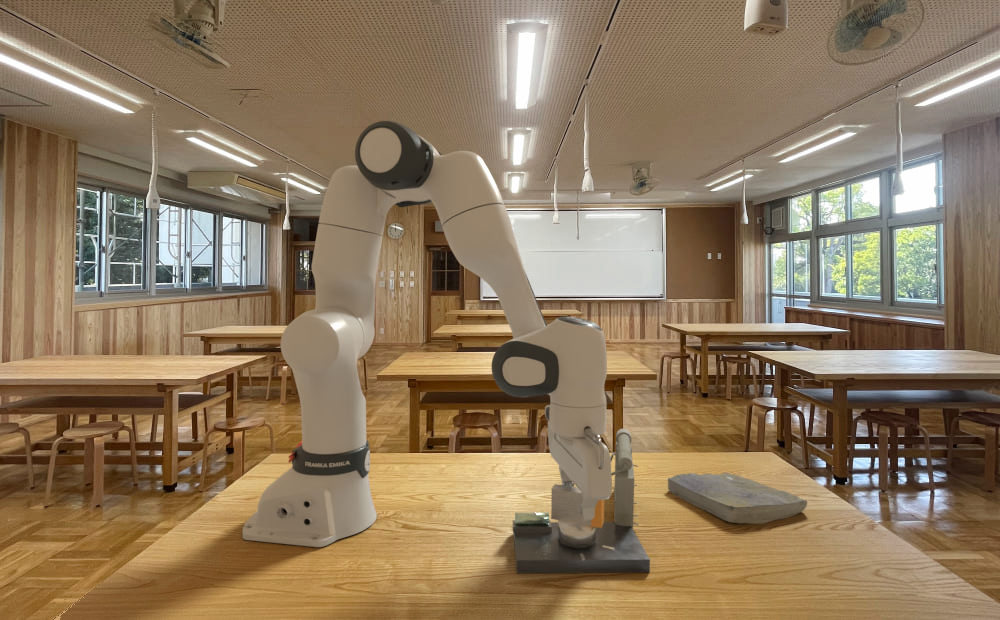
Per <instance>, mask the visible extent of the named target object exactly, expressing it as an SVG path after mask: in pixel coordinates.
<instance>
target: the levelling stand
mask: <svg viewBox="0 0 1000 620" xmlns="http://www.w3.org/2000/svg"><path fill="white" fill-rule="evenodd" d="M512 533H513V545H514V546H513V547H514V556H515V568H516V569H515V570H516V571H515V572H516V574H577V573H578V574H594V573H595V574H597V573H598V574H599V573H601V574H604V573H606V574H608V573H613V574H614V573H616V574H617V573H618V574H619V573H621V574H622V573H629V574H630V573H631V574H632V573H651V571H650V569H651V568H650V565H651V558H650V557H649V555H648V553H647V552H646V550H645V548H644V546H643V545H642V543H641V542H640V539H639V537H638V536H637V533H635V530H634V528H633V529H632V527H631V526H621V525H616V524H615V521H604V523H603V525H602V528H598V527H596V542H595V543H594V544H593V545H592V546H590V547H586V548H573V547H569V546H566V545H564V544H562V543H561V542H560V541H559V539H558V521H556V522H555V521H554V522H553V521H551V520H550V513H549V512H536V511H532V512H515V513H514V520H512Z"/></svg>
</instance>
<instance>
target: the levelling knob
mask: <svg viewBox="0 0 1000 620" xmlns="http://www.w3.org/2000/svg"><path fill="white" fill-rule="evenodd" d="M550 497H551V499H550V500H551V501H550V502H551V506H550V507H551V508H550V511H551V516H550V519H551V520H556V521H557V522H558V539H559V541H560V542H561V543H562V544H564V545H566V546H569V547H573V548H586V547H590V546H592V545H593V544H594V543H595V542H596V527H598V528H602V525H603V523H604V522H605V500H598V502H597V504H596V507H595V516H594V518H593V519H588V520H585V519H584V518H583V517H582V515H581V514H580V511H581V510H580V504H582V503H583V497H582V492H581V491H580V490H579V489H578V488H577V486H574V487H571V486H564V485H562V484H558V483H554V484H553V486H552V487H551V496H550Z"/></svg>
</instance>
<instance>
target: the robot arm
mask: <svg viewBox="0 0 1000 620" xmlns="http://www.w3.org/2000/svg"><path fill="white" fill-rule="evenodd" d="M354 149H355V150H354V158H355V161H356V162H355V163H356V165H355V164H354V165H353V164H352V165H345V166H342V167H339V168H337V169H336V170H335V171H334V172H333V173H332V176H331V179H330V180H329V183H328V186H327V189H326V191H325V194H324V198H323V202H322V206H321V209H320V213H319V218H318V219H319V220H318V224H317V225H318V226H317V231H316V237H315V242H314V250H313V255H312V261H311V272H312V275H313V278H314V284H315V285H314V287H315V308H314V309H310V310H307V311H305V312H303V313H301V314H300V315H298V316H297V317H296V318H294V319H293V320H292V321H291V322H290V323H289V324H288V325H287V326H286V327H285V328H284V331H283V333H282V334H281V338H280V351H281V355H282V357H283V359H284V360H285V363H286V364H287V365H288V366H289V367H290V368H291V371H292V373H293V378H294V381H295V386H296V388H297V392H298V397H299V403H300V413H301V414H300V415H301V441H300V442H298V443H297V444H296V446H295V447H296V448H294V449H293V450H292V451H291V453H290V454H289V455H288V456H287V459H288V463H289V464H290V463H291V465H292V466H291V467H290V468H289V469H288V470H286V471H285V472H284V473H282V474H281V475H280V476H279V477H277V478H276V479H275V480H274V481H273V482H272V483H270V484H269V485H267V487H266V488H265V490H264V491H263V492H262V494H261V495H260V498H259V501H258V504H257V507H256V508H257V509H256V511H255V512H254V513H253V514H252V515H251V516H249V517H248V519H247V520H246V521H245V523H244V525H243V527H242V532H241V533H242V534H241V535H242V539H243V540H246V541H253V542H254V541H255V542H264V543H274V544H281V545H282V544H283V545H284V544H285V545H294V546H302V547H303V546H304V547H311V548H312V547H314V548H322V547H325V546H329V545H330V544H332V543H334V542H336V541H338V540H339V539H343V538H346V537H350V536H353V535H356V534H359V533H360V532H362V531H364V530H366V529H368V528H369V527H370V526H371V525H373V524H374V523H375V521H376V520H377V517H378V516H377V511H376V508H375V505H374V501H373V498H372V497H373V496H372V491H371V485H370V479H369V473H370V468H371V451H370V442H369V440H368V439H367V400H366V396H365V395H364V393H363V391H362V387H361V382H360V378H359V372H358V360H359V359H361V358H362V357H363V356H365V355H366V354H367V353H368V352H369V350H370V348H371V347H372V344H373V341H374V339H375V334H376V333H375V332H376V329H375V316H376V315H375V314H376V312H375V311H376V280H377V273H378V269H379V268H378V267H379V262H380V254H381V250H382V243H383V238H384V231H385V227H386V226H385V225H386V219H387V216H388V213H389V211H390V209H391V208H392V207H393V206H394V205H396V207H399V208H404V207H405V208H406V207H411V206H420V205H426V204H431V203H432V204H433V206H434V208H435V210H436V212H437V215H438V219H439V221H440V224H441V227H442V231H443V233H444V237H445V239H446V241H447V244H448V246H449V248H450V250H451V251H452V254H453V255H454V257H455V258H456V260H457V261H458V263H459V264H460V265H461V266H463V268H465V269H466V270H468V271H469V272H471V273H473V274H475V275H476V276H477V277H479V278H480V279H482V280H483V281H484V282H486V283H487V285H489V286H490V288H491V289H492V290H493V292H494V293H495V295H496V296H497V299H498V302H499V305H501V308H502V311H503V313H504V316H505V319H506V320H507V323H508V326H509V328H510V330H511V333H512V339H510V340H507V341H506V342H504V343H503V344H501V345H500V346H499V347H498V348H497V349H496V351H495V352H494V354H493V356H492V360H491V374H492V378H493V380H494V382H495V384H496V385H497V387H498V388H499V389H500V390H501V391H502V392H504V393H505V394H507V395H509V396H511V397H517V398H529V397H537V396H543V395H549V398H550V401H549V402H550V404H548V405H546V406H545V407H544V416H545V419H546V421H547V434H548V436H547V437H548V439H547V441H548V450H549V453H550V456H551V459H553V460H554V462H556V463H557V465H558V470H559V475H560V479H561V485H564V486H571V487H577V488H578V489H579V490H580V491H581V492H582V497H583V503H582V504H580V510H581V511H580V514H581V515H582V517H583V518H584V519H585V520H588V519H593V518H594V516H595V507H596V504H597V502H598V500H604V501H605V500H609V499H610V497H611V495H612V493H613V485H612V484H613V482H612V481H613V479H612V476H613V475H612V474H611V473H612V461H611V459H610V458H611V454H610V451H609V448H608V446H607V445H606V443H604V442H602V435H604V434H605V433H606V432H607V397H606V393H605V384H606V379H607V375H608V358H607V357H608V356H607V354H608V353H607V343H606V336H605V332H604V329H602V328H601V326H600V325H599V324H597V323H596V322H594V321H592V320H589V319H586V318H582V317H575V316H560V317H556V318H555V319H554V320H553V321H552V322H550V323H547V321H546V320H545V318H544V314H543V312H542V310H541V307H540V305H539V303H538V302H539V301H538V300H537V296H536V295H535V293H534V290H533V288H532V285H531V282H530V280H529V277H528V275H527V273H526V271H525V268H524V265H523V262H522V258H521V254H520V252H519V249H518V245H517V242H516V241H517V240H516V238H515V234H514V230H513V227H512V223H511V221H510V216H509V214H508V210H507V208H506V205H505V203H504V200H503V196H502V194H501V191H500V189H499V187H498V185H497V183H496V181H495V179H494V176H493V175H492V174H491V173H492V172H490V170H489V167H488V166H487V164H486V162H485V161H484V159H483V158H482V157H481V156H480V155H479V154H478V153H475V152H473V151H469V150H455V151H452V152H450V153H447V154H442V153H441V152H440V151H439V150H437V149H436V148H435V147H434V145H433V144H431V142H430V141H429V140H428V139H426V137H423V136H421V135H419V134H417V133H416V131H414V130H412V129H411V128H410V127H409V126H406V125H404V124H402V123H399V122H396V121H391V120H380V121H377V122H374V123H371V124H370V125H368V126H367V127H366V128H364V130H362V132H361V134H360V135H359V137H358V139H357V141H356V144H355V148H354Z"/></svg>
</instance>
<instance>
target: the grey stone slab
mask: <svg viewBox="0 0 1000 620" xmlns="http://www.w3.org/2000/svg"><path fill="white" fill-rule="evenodd" d="M667 490H668V492H670V493H671V494H673V495H674V496H676V497H678V498H680V499H682V500H684V502H686V503H689V504H691V505H693V506H694V507H695V508H699V509H700V510H703V511H705V512H708V513H709V514H712V515H713V516H715V517H717V518H719V519H721V520H723V521H726V522H728V523H733V524H735V523H736V524H748V525H749V524H751V525H758V524H760V525H761V524H763V525H764V524H767V523H770V522H771V523H772V522H773V521H777V520H784V519H787V518H790V517H793V516H796V515H798V514H800V513H802V512H804V511H805V510H806V508H807V506H808V500H807V499H803V498H801V497H799V496H797V495H795V494H792V493H790V492H788V491H785V490H781V489H780V490H779V489H776V488H774V487H771V486H768V485H766V484H763V483H760V482H758V481H755V480H753V479H749V478H746V477H744V476H740V475H736V474H733V473H728V472H721V473H718V474H716V473H714V474H713V473H703V474H698V473H695V472H690V473H681V474H676V475H673V476H672V477H668V478H667Z"/></svg>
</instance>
